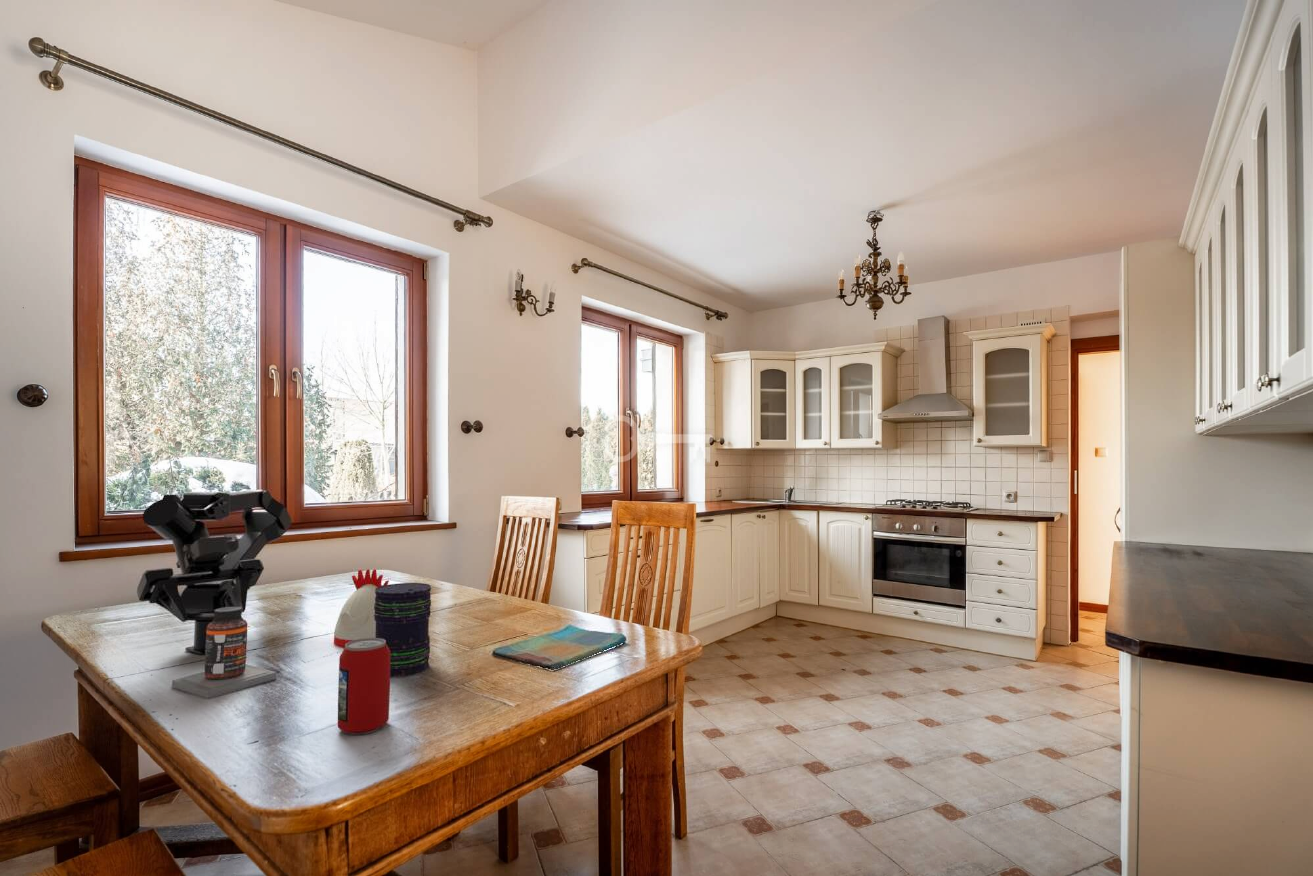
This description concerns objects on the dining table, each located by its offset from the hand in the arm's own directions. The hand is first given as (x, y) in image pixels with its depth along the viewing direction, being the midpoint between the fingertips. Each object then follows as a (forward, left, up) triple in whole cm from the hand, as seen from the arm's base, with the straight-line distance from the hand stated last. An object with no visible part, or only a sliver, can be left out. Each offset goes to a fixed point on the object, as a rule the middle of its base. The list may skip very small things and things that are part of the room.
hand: (215, 615), depth 116 cm
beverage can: (+44, -3, -11) cm, 45 cm away
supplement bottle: (+7, -2, -9) cm, 12 cm away
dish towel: (+45, +43, -11) cm, 63 cm away
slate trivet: (+7, -2, -10) cm, 13 cm away
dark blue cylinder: (+27, +18, -11) cm, 34 cm away
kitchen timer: (+4, +29, -11) cm, 31 cm away
